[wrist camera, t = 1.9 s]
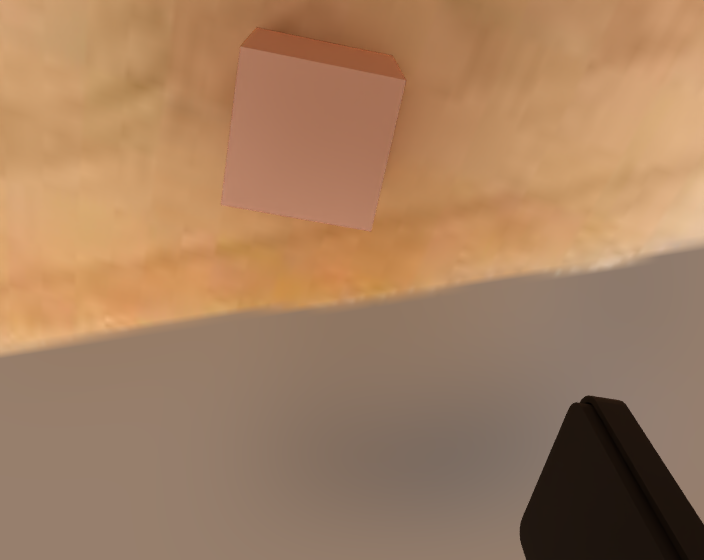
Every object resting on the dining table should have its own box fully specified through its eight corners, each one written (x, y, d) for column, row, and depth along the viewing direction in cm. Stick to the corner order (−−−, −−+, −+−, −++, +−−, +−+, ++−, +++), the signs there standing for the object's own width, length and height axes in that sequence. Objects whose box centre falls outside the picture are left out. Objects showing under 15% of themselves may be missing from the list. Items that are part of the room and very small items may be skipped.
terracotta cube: (392, 55, 30) (406, 80, 24) (364, 183, 32) (371, 231, 27) (257, 27, 29) (240, 46, 24) (239, 160, 32) (220, 205, 26)
